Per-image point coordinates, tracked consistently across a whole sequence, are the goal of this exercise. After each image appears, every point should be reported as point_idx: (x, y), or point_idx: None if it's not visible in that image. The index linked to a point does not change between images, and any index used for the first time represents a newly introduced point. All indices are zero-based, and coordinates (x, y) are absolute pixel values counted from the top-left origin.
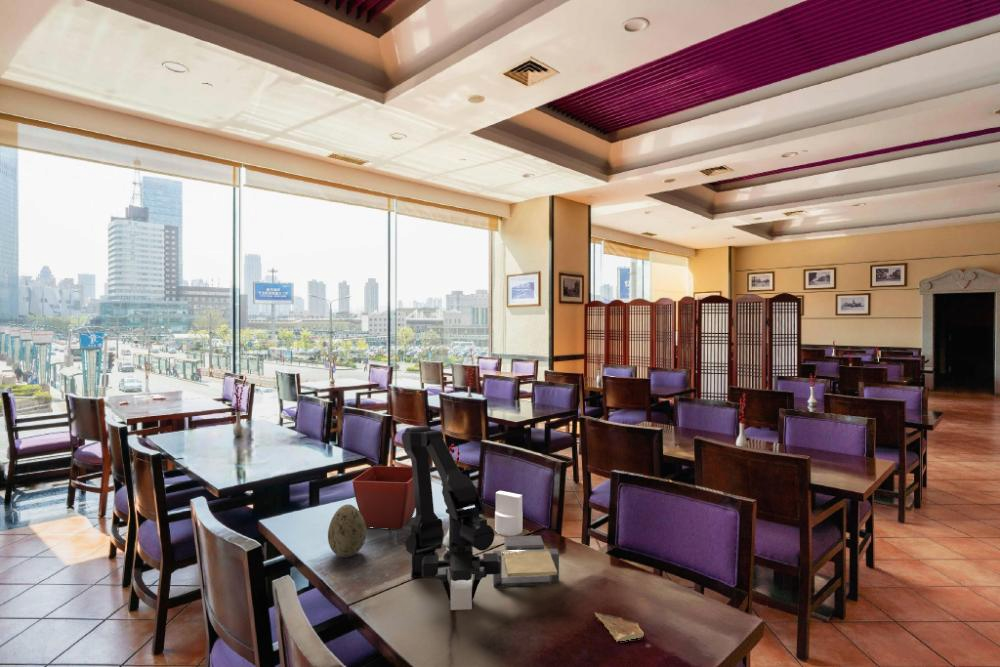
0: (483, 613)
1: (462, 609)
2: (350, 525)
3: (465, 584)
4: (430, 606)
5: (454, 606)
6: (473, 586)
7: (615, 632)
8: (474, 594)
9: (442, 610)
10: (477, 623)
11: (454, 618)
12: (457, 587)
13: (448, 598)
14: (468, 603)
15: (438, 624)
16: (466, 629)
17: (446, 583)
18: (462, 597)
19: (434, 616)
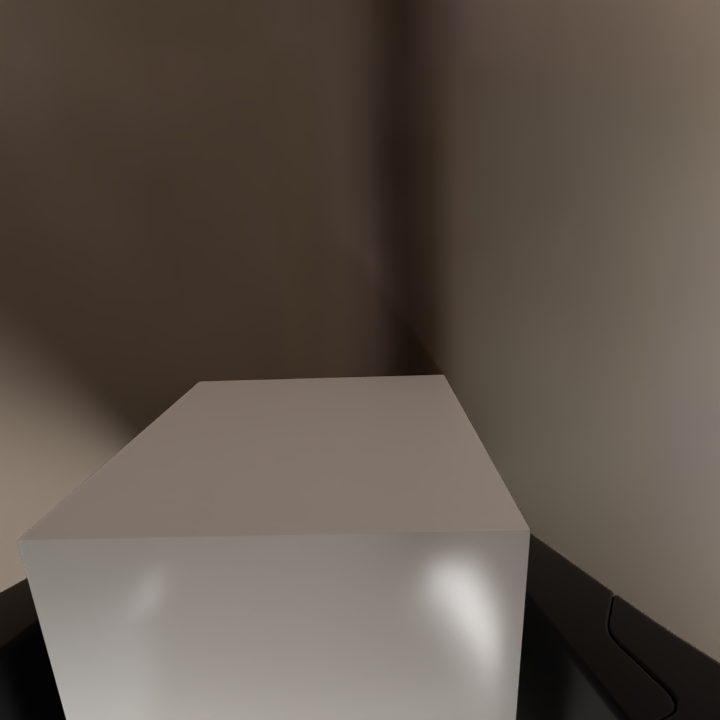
0: (47, 282)
1: (305, 380)
2: None
3: (190, 690)
4: (671, 456)
5: (401, 389)
6: (20, 627)
7: None
8: None
9: (538, 370)
10: (86, 44)
11: (394, 185)
12: (361, 587)
13: None
14: (213, 402)
15: (607, 43)
16: None
17: (672, 705)
18: (278, 440)
19: (644, 244)
